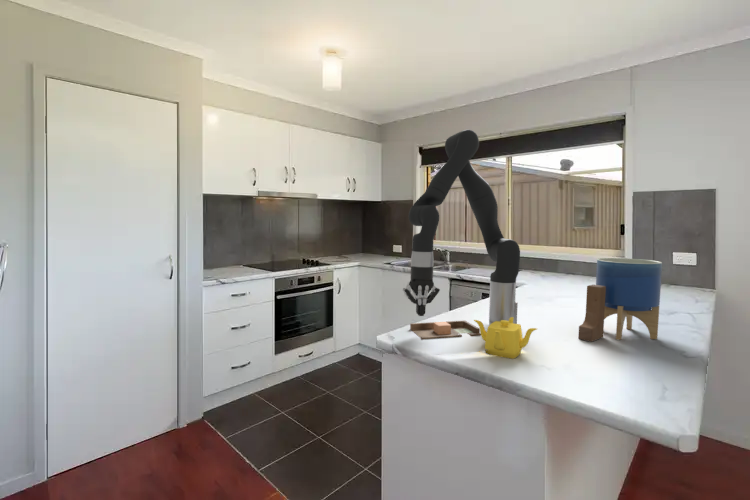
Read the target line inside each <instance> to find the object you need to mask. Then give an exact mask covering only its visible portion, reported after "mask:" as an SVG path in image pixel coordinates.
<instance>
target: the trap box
mask: <svg viewBox="0 0 750 500" xmlns="http://www.w3.org/2000/svg"><path fill="white" fill-rule="evenodd" d="M434 322H435V321H432V322H431V321H430V322H428V321H427V322H414V323H413V322H411V323H409V325H410V326H409V328H410V331H412V332H413V333H414V334H415V335H416V336H418V337H419V338H420V339H421V340H431V339H432V340H433V339H446V338H447V339H449V338H461V337H463V336H462V334H467V335H469V336H470V337H477V336H479V337H480V336H481V333H480V328H479V326H477V325H474V324H472V323H470V322H469V321H467V320H463V319H462V320H450V321H449V320H448V321H445V322H447V323H449V324H450V325H451V334H439V335H438V334H437V333H436V332H434V331H433V328H434Z"/></svg>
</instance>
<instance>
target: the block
mask: <svg viewBox="0 0 750 500" xmlns="http://www.w3.org/2000/svg"><path fill="white" fill-rule="evenodd" d="M433 322H434V328H433V331H434V332H436V333H437V334H438V335H439V334H451V325H450V324H449V323H447V322H446V321H433Z"/></svg>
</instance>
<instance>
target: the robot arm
mask: <svg viewBox="0 0 750 500" xmlns="http://www.w3.org/2000/svg"><path fill="white" fill-rule="evenodd" d="M479 147H480V139H479V135H477V133H476V132H475V131H474V130H473V129H472V130H471V129H463V130H461V131H459V132H457V133H455V134H452V135H450V136H449V137H447V138H446V140H445V143H444V149H445V152H446V155H447V157H448V160H447V161H446V162H445V164H444V165H443V166H442V167H441V168H440V169H439V170H438V171H437V172H436V173H435V175H434V176H433V178H432V179H431V180H430V182H429V184H428V186H427V188H426V189H425V191H424V193H422V195H421V196H419V198H417V200H416V201H415V202H414V203H413V204H412V206H411V207H410V209H409V212H408V221H409V223H410V224H411V225H413V226H415V227H421V228H420V231H419V233H415V234H414V235H413V236H412V245H411V247H412V248H411V257H410V281H409V283H408V285H407V286H406V287H403V288H402V291H403V293H404V294H405V295H406V297H407V298H408V300H409V301H410V302H411V303H412V304H414V305H415V306H416V307H415V312H416V314H417V316H418V317H424V315H425V314H426V306H427V304H430V303H432V302H433V300H434V299H435V298H436V296H437V295H438V294H439V293H440V291H441V289H440V288H439V287H436V286H435V284H434V264H435V263H434V261H435V260H434V239H435V236H436V234H437V229H438V226H439V222H440V213H439V210H438V208H437V207H438V206H439V207H440V205H442V204H443V203H444V201H445V199H446V197H447V196H448V194H449V192H450V191H451V188H452V186H453V185H454V183H455V181H456V180H457V179H459V181H460V184H461V186H462V189H463V191H464V193H465V196H466V198H467V201H468V204H469V206H470V208H471V210H472V213H473V216H474V217H475V221H476V222H477V225H478V227H479V230H480V232H481V235H482V239H483V242H484V245H485V248H486V253H487V254H488V256H489V258H490V259H491V260H492V261H493V262H496V264H495V270H494V271H493V272H491V274H490V277H489V279H490V281H489V310H488V311H489V313H488V326H489V325H490V324H492V323H493V322H495V321H501V320H507V321H509V318H511V317H513V318H514V319H513V323H514V324H518V306H519V305H518V302H517V301H516V295H517V294H516V291H517V290H516V289H517V277H518V275H519V271H520V260H521V248H520V245H519V243H518V242H517V241H515V240H514V239H510V238H505V237H504V235H503V233H502V231H501V229H500V226H499V225H500V224H499V222H498V221H499V220H498V213H499V212H498V202H497V198H496V196H495V193H494V191H493V189H492V187H491V185H490V183H488V181H486V180H485V179H484V177H482V176H481V175H480V174H479V173H478V172H477V171H476V170H475V168H473V166H472V163H471V161H470V160H471V159H472V158H473V157H474V156H475V154H476V153H477V151H478V149H479ZM412 292H413V293H414V296H413V294H412Z"/></svg>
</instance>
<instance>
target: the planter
mask: <svg viewBox="0 0 750 500" xmlns="http://www.w3.org/2000/svg"><path fill="white" fill-rule="evenodd" d="M662 269H663V262H662V261H658V260H653V259H640V258H626V257H625V258H624V257H623V258H622V257H602V258H597V259H596V276H595V285H601V286H606V294H605V312H604V320H606V319H607V318H608V317H610V316H612V315H616V314H617V317H616V330H615V331H616V333H615V340H619V341H621V340H622V339H623V337H622V336H623V330H624V323H625V320H626V330H630V331H631V330H632V327H633V318H636V319H638V320H639V321H641V322H642V323H643V324H644V326H645V327H646V329H647V330H648V333H649V339H650V340H654V339H657V340H658V335H659V334H658V333H659V332H658V331H659V322H660V321H659V320H660V319H659V317H660V302H661V287H662V273H663V272H662Z"/></svg>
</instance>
